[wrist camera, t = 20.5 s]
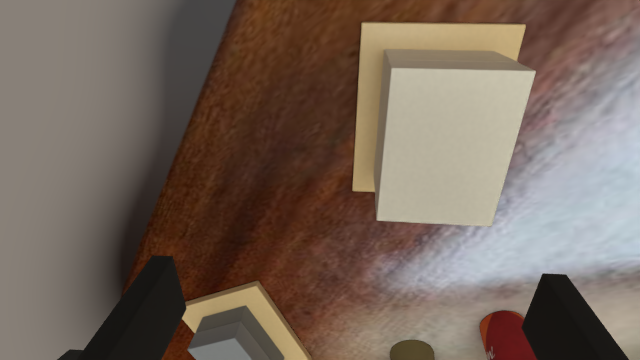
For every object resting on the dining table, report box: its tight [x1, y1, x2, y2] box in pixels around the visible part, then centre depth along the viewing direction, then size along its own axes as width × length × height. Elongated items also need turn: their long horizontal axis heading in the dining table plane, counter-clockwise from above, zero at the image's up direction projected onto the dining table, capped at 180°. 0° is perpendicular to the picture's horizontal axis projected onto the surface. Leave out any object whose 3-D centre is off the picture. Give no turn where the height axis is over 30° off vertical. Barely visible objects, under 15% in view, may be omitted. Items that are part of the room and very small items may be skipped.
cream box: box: [352, 22, 526, 194], centre depth 31 cm, size 16×13×6 cm
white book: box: [375, 60, 536, 227], centre depth 27 cm, size 12×9×3 cm
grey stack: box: [182, 281, 312, 360], centre depth 48 cm, size 16×13×6 cm
